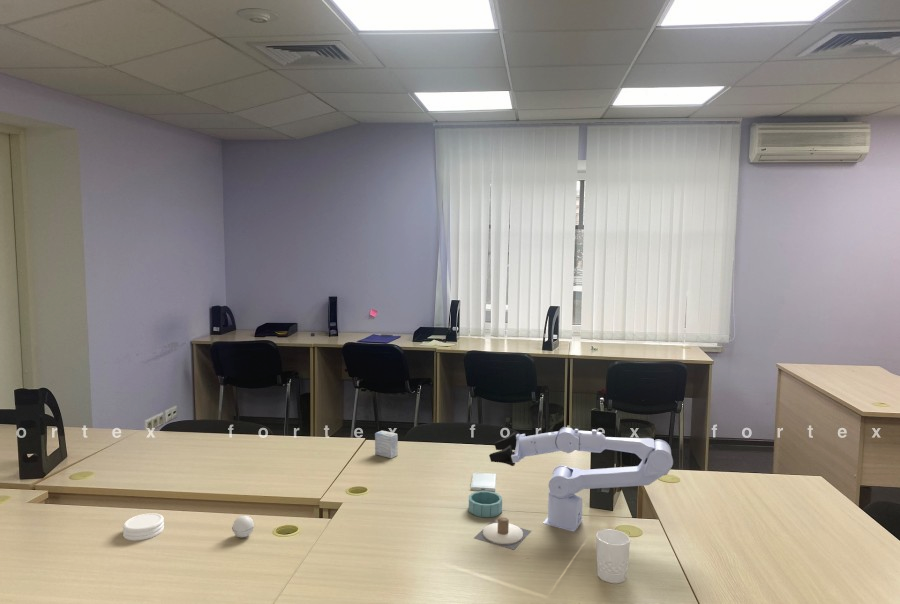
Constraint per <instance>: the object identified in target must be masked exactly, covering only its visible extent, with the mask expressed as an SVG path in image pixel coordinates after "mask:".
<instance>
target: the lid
mask: <svg viewBox="0 0 900 604" xmlns="http://www.w3.org/2000/svg"><path fill="white" fill-rule="evenodd" d="M509 520H510V519H509V518H507V517H506V516H505V517H503V516H502V517H498V518H497V522H498V523H493V524H489V523H488V524H489V525H488V524H487V525H486V526H485V527H483V529H482V530H483V536H484V537H485V538H486V539H487V540H489V541H490V542H493V543H497V544H513V543H517V542H519V541H520V540H521V539H522V538H523V532H522V530H521V529H520V528H521V527H520V526H517V525H514V524H513V523H510V521H509Z"/></svg>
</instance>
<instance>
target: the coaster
mask: <svg viewBox="0 0 900 604" xmlns="http://www.w3.org/2000/svg"><path fill="white" fill-rule="evenodd" d="M164 520H165V518H164V516H163V515H162V514H159V513H156V512H154V513H153V512H151V513H149V512H147V513H142V514H138V515H135V516H131V517H130V518H129V519H127V520H126V521H125V522H124V523H123V525H122V532H123V533H122V535H123V538H124V539H125V540H127V541H131V542H133V541H134V542H136V541H145V540H149V539H151V538H154V537H156V536H159V535H160V534H161V533H162V532H163V531H164V530H165V529H164V528H165V521H164Z"/></svg>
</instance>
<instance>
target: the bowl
mask: <svg viewBox="0 0 900 604" xmlns="http://www.w3.org/2000/svg"><path fill="white" fill-rule="evenodd" d="M468 512H469V513H470V514H472V515H473V516H476V517H479V518H493V517H497V516H499V515H500V514H501V513H503V497H502V495H500V494H499V493H497V492H495V491H481V490H477V491H474V492H471V494H469V495H468Z"/></svg>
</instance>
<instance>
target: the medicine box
mask: <svg viewBox="0 0 900 604" xmlns="http://www.w3.org/2000/svg"><path fill="white" fill-rule="evenodd" d="M398 439H399V438H398V433H395V432H390V431H386V430H380V431H376V432H375V433H374V450H375V451H374V454H375V455H376V456H380V457H384V458H388V459H393V458H395V457H397V456H398V453H399V449H398V448H399V447H398V446H399V444H398V443H399V442H398V441H399V440H398Z"/></svg>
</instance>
